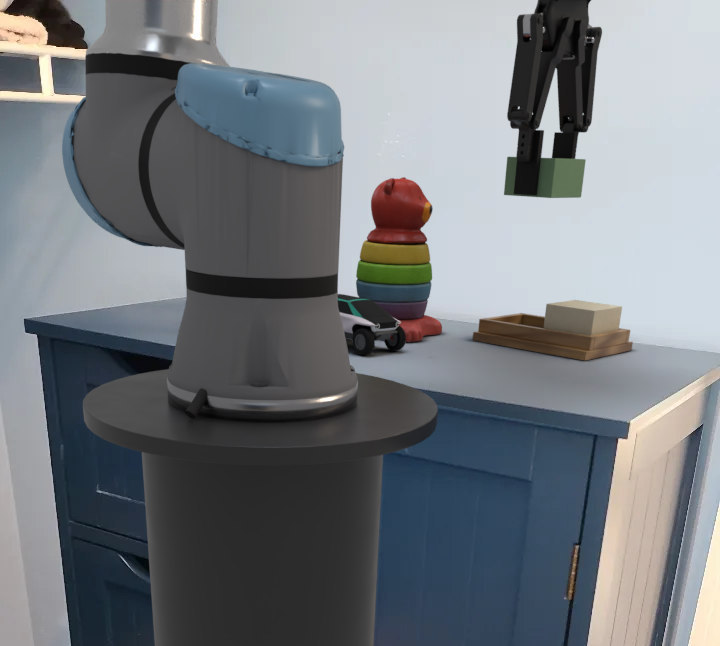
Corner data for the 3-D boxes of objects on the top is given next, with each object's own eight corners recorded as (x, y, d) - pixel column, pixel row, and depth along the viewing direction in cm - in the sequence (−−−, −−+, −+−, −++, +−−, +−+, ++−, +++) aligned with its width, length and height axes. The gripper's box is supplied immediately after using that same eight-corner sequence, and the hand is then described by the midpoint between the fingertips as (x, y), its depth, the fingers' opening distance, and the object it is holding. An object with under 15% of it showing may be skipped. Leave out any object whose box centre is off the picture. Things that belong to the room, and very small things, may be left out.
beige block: (589, 346, 110) (594, 310, 108) (542, 338, 114) (546, 303, 112) (617, 341, 115) (622, 306, 113) (570, 333, 118) (575, 299, 117)
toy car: (338, 336, 117) (339, 290, 114) (406, 352, 109) (408, 303, 106) (300, 340, 113) (301, 293, 111) (368, 357, 105) (370, 306, 103)
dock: (585, 360, 108) (588, 338, 107) (472, 340, 118) (474, 319, 117) (631, 350, 116) (635, 329, 114) (522, 332, 125) (524, 312, 124)
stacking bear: (414, 343, 114) (424, 179, 106) (339, 334, 117) (343, 175, 109) (446, 332, 122) (458, 179, 114) (375, 324, 126) (382, 175, 118)
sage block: (551, 198, 107) (555, 158, 105) (503, 195, 110) (506, 156, 109) (581, 197, 111) (586, 159, 109) (534, 194, 115) (538, 157, 113)
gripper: (549, -67, 91) (522, 196, 102) (645, -35, 104) (612, 195, 115) (486, -59, 96) (466, 193, 106) (585, -30, 109) (559, 192, 119)
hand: (542, 194), depth 111 cm, fingers closed on sage block, 6 cm apart
